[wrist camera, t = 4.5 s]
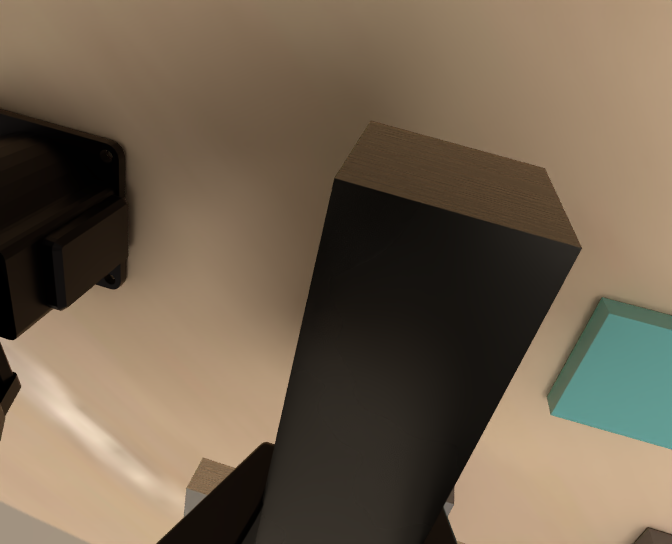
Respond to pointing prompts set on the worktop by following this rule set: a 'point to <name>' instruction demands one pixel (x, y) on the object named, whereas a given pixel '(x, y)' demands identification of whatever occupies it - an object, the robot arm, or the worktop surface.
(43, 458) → the worktop surface
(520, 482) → the worktop surface
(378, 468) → the turner
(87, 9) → the worktop surface
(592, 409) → the tile
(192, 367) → the worktop surface
